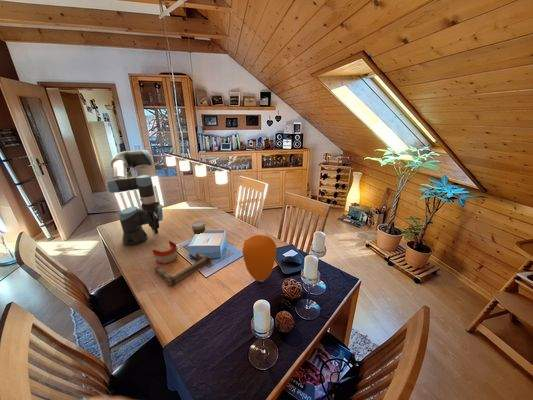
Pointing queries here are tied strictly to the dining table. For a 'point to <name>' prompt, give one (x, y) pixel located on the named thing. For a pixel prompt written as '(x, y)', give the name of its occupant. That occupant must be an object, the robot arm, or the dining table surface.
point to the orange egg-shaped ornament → (259, 256)
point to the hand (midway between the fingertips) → (156, 237)
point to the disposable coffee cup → (198, 227)
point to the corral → (185, 273)
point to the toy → (166, 254)
